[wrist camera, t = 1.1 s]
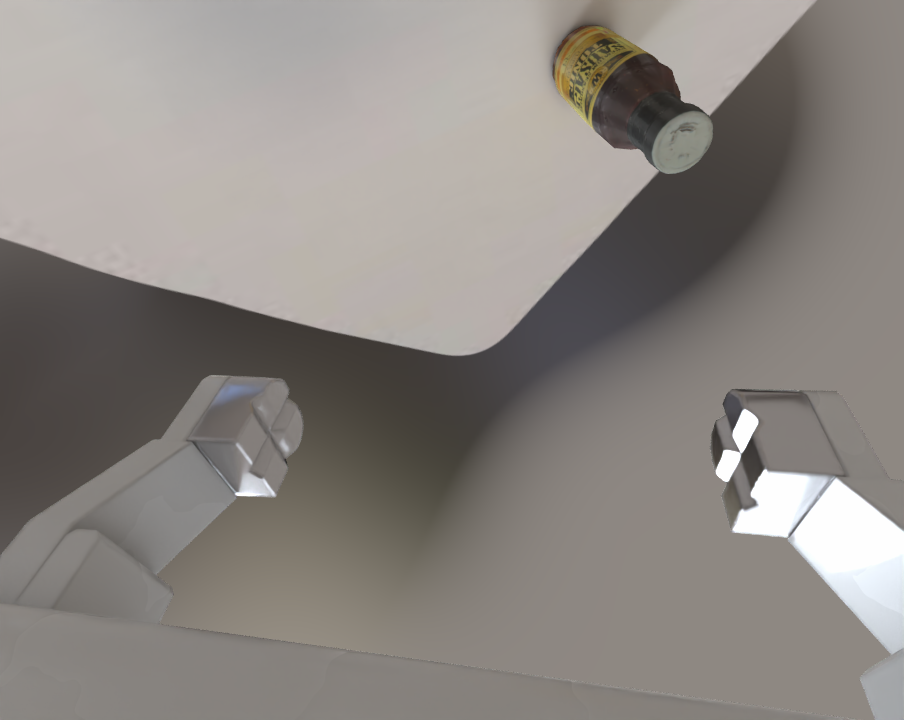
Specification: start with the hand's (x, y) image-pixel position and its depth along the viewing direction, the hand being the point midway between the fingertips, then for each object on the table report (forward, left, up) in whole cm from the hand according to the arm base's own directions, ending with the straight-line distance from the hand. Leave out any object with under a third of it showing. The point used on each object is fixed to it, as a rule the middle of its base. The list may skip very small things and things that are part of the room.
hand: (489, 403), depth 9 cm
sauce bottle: (+13, +13, -44) cm, 47 cm away
